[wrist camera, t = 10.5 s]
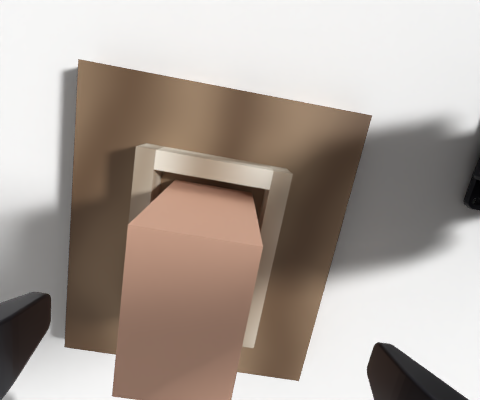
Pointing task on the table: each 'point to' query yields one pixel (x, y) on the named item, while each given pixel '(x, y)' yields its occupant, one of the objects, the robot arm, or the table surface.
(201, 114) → the socket board
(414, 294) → the table surface
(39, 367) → the table surface
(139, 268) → the key block
